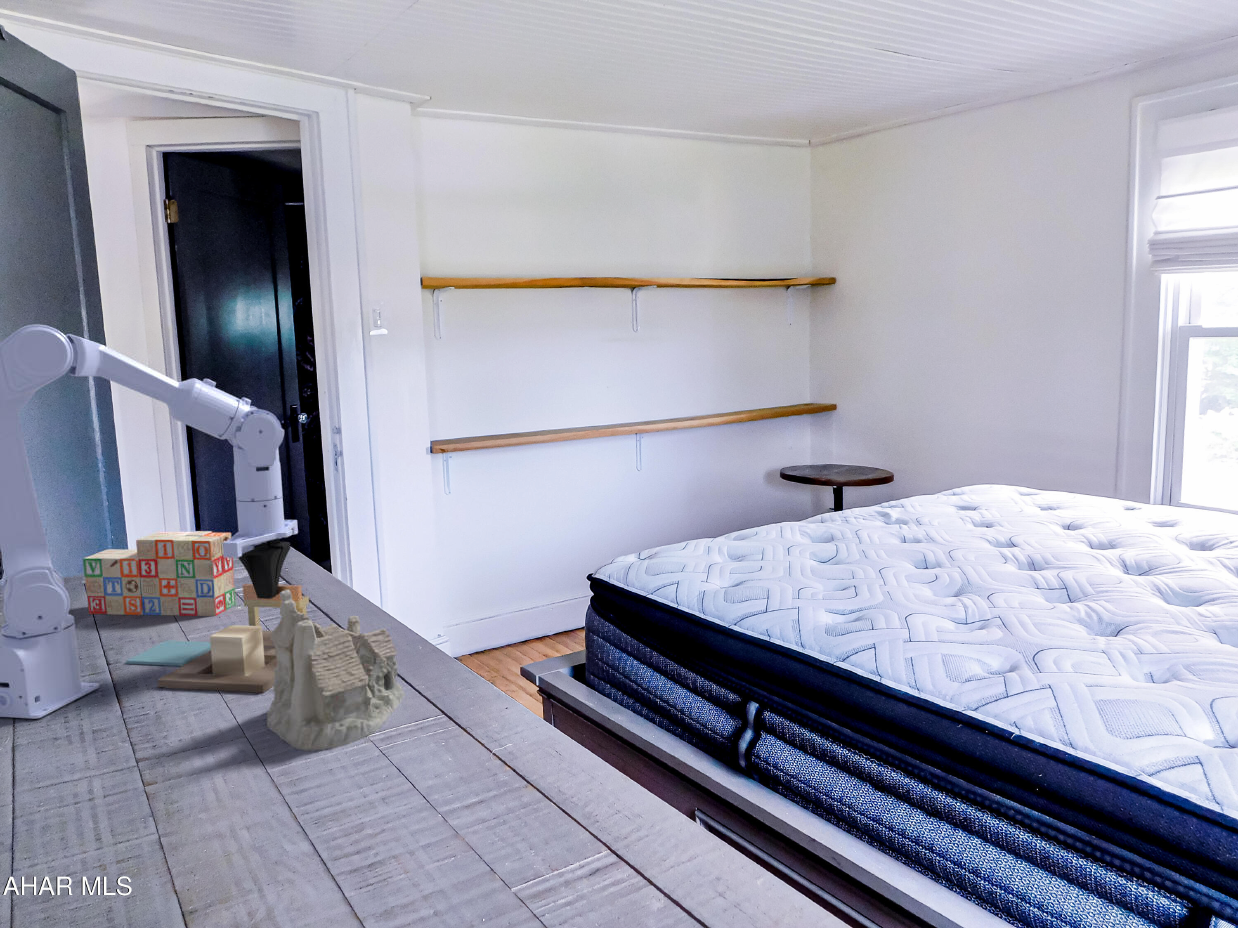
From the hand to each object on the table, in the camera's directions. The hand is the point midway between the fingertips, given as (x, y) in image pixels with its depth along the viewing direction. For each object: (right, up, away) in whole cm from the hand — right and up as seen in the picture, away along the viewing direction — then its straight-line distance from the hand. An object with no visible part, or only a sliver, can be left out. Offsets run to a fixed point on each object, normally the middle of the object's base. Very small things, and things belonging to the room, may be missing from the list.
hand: (266, 597), depth 117 cm
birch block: (-1, -9, -6) cm, 11 cm away
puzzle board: (0, -8, -3) cm, 9 cm away
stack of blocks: (-26, -6, +22) cm, 34 cm away
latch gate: (0, -6, +3) cm, 7 cm away
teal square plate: (-13, -8, +1) cm, 15 cm away
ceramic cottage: (+16, -11, -19) cm, 27 cm away
